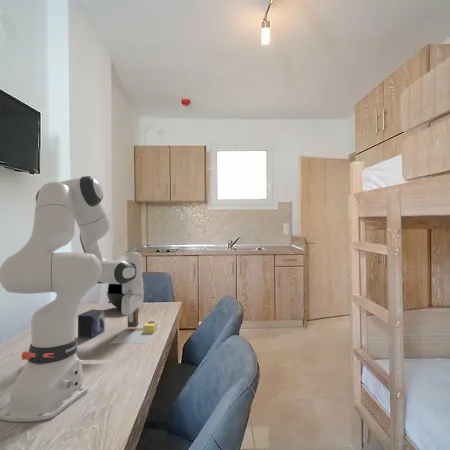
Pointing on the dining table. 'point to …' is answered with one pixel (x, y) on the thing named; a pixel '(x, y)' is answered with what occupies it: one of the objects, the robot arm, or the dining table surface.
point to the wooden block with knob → (135, 322)
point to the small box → (91, 323)
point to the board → (134, 335)
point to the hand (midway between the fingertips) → (133, 320)
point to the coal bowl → (115, 294)
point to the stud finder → (150, 327)
